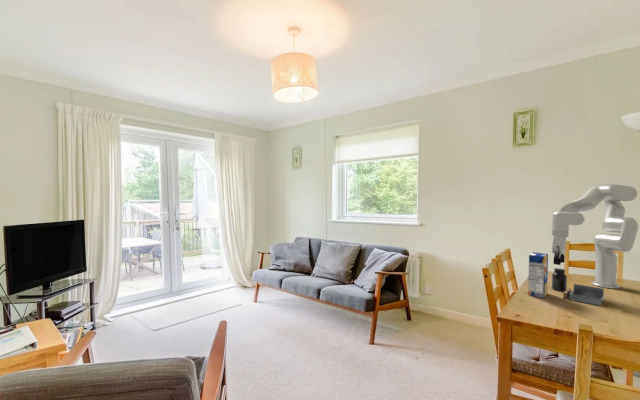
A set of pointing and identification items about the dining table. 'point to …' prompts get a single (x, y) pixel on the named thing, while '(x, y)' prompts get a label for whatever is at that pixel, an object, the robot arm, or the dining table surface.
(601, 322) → the dining table surface
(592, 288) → the keeper
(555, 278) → the supplement bottle
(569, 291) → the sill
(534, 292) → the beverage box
